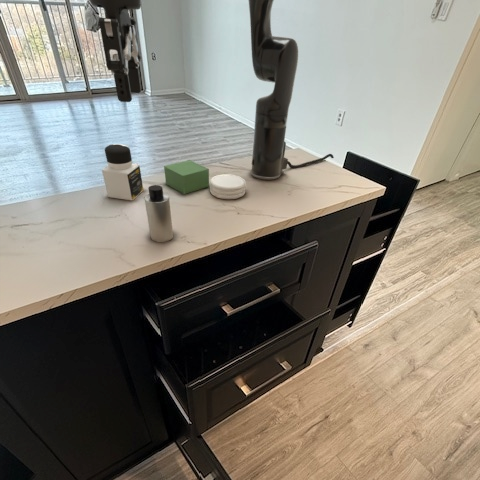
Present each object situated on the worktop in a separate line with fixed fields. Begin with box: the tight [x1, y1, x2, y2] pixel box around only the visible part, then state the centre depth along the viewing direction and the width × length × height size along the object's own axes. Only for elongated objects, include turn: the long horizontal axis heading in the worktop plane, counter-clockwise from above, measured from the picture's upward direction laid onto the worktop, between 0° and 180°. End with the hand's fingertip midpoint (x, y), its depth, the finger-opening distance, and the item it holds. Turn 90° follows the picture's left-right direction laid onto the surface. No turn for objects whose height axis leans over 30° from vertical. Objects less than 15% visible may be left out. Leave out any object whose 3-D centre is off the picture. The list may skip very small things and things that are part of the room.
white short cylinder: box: [209, 173, 247, 200], centre depth 90 cm, size 10×10×4 cm
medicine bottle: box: [101, 143, 144, 201], centre depth 83 cm, size 7×7×12 cm
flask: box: [143, 184, 174, 243], centre depth 68 cm, size 5×5×11 cm
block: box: [163, 159, 210, 195], centre depth 91 cm, size 9×9×5 cm
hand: (130, 96), depth 57 cm, fingers open, 8 cm apart
